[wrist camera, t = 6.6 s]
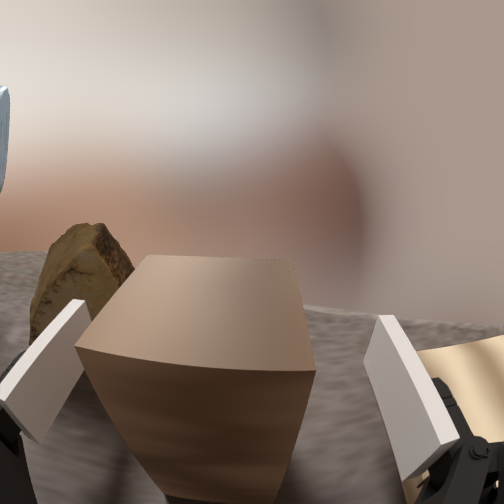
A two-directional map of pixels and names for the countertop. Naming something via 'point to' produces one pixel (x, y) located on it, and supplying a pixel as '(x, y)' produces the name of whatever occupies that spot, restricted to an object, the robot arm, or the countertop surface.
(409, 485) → the cutting board
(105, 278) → the rock
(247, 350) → the walnut block
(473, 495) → the robot arm
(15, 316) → the countertop surface
